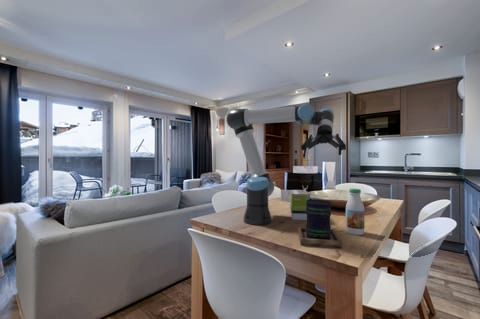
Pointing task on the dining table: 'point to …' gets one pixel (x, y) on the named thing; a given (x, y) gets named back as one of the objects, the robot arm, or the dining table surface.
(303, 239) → the tray
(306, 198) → the tea box
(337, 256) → the dining table surface
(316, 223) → the storage jar
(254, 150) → the robot arm
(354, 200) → the milk bottle
